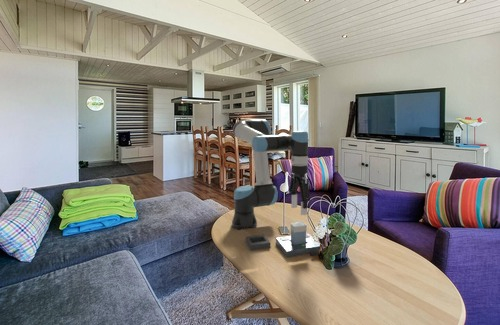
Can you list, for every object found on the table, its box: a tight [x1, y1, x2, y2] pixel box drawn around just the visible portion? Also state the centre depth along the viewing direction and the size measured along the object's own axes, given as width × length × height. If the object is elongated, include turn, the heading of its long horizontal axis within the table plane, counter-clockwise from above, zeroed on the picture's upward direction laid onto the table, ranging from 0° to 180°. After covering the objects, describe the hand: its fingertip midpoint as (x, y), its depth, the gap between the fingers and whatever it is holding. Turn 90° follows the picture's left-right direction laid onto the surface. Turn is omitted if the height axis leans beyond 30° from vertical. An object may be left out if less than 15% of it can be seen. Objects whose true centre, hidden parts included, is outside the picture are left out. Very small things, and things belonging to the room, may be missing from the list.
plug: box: [290, 221, 308, 245], centre depth 125 cm, size 4×6×12 cm
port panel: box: [275, 233, 321, 258], centre depth 126 cm, size 14×18×5 cm
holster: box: [245, 233, 271, 251], centre depth 130 cm, size 10×10×4 cm
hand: (298, 210), depth 123 cm, fingers open, 10 cm apart
